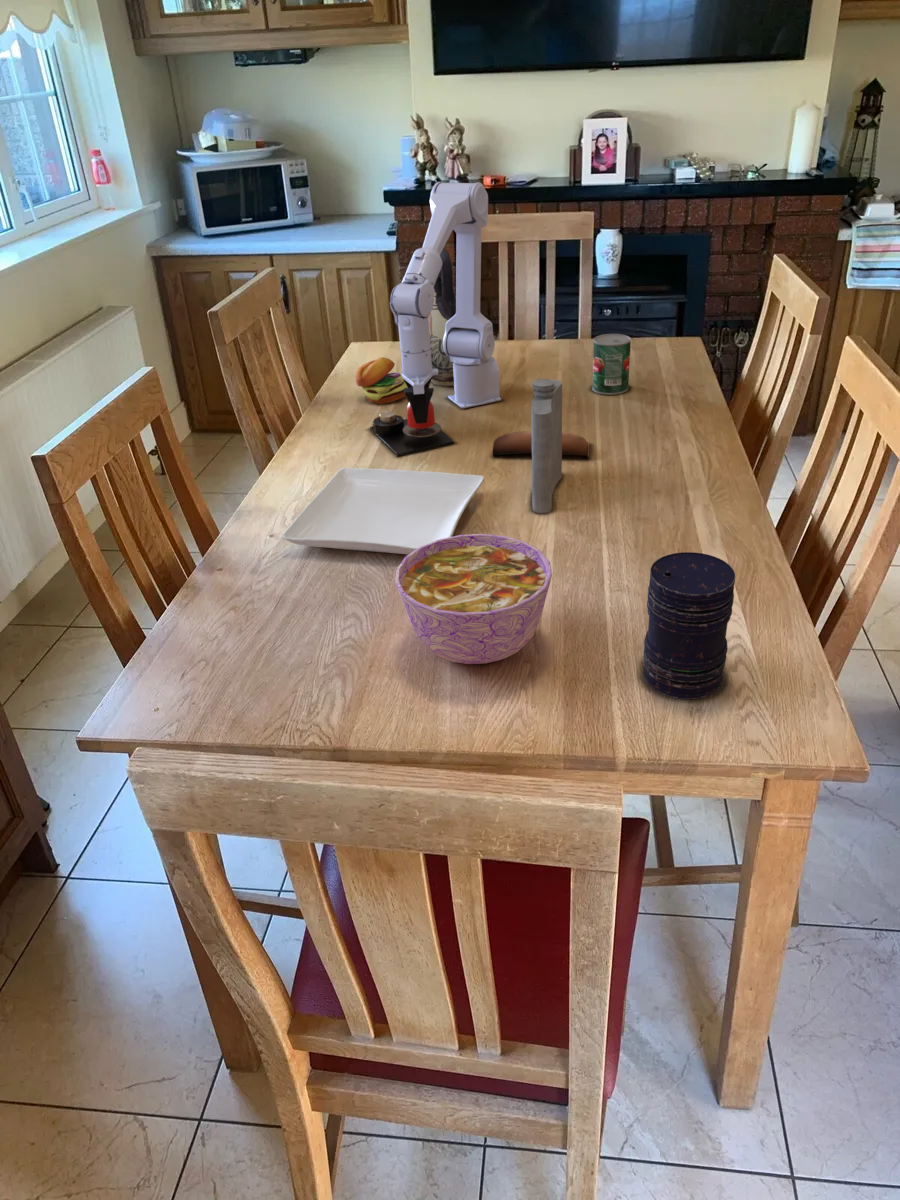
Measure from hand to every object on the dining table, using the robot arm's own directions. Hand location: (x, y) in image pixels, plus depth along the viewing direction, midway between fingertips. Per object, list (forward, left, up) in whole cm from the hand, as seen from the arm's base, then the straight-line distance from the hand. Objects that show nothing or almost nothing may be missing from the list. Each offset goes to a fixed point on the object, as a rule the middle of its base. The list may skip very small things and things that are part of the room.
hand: (420, 417), depth 181 cm
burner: (0, 0, -3) cm, 3 cm away
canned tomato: (-47, -5, -5) cm, 47 cm away
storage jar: (0, +87, -5) cm, 88 cm away
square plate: (+18, +30, -5) cm, 36 cm away
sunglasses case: (-18, +17, -5) cm, 25 cm away
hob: (+1, -3, -5) cm, 6 cm away
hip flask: (-10, +33, -5) cm, 35 cm away
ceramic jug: (-19, -29, -5) cm, 34 cm away
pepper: (0, 0, -1) cm, 1 cm away
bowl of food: (+20, +69, -5) cm, 73 cm away
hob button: (+4, -7, -2) cm, 9 cm away
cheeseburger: (-2, -27, -5) cm, 27 cm away
